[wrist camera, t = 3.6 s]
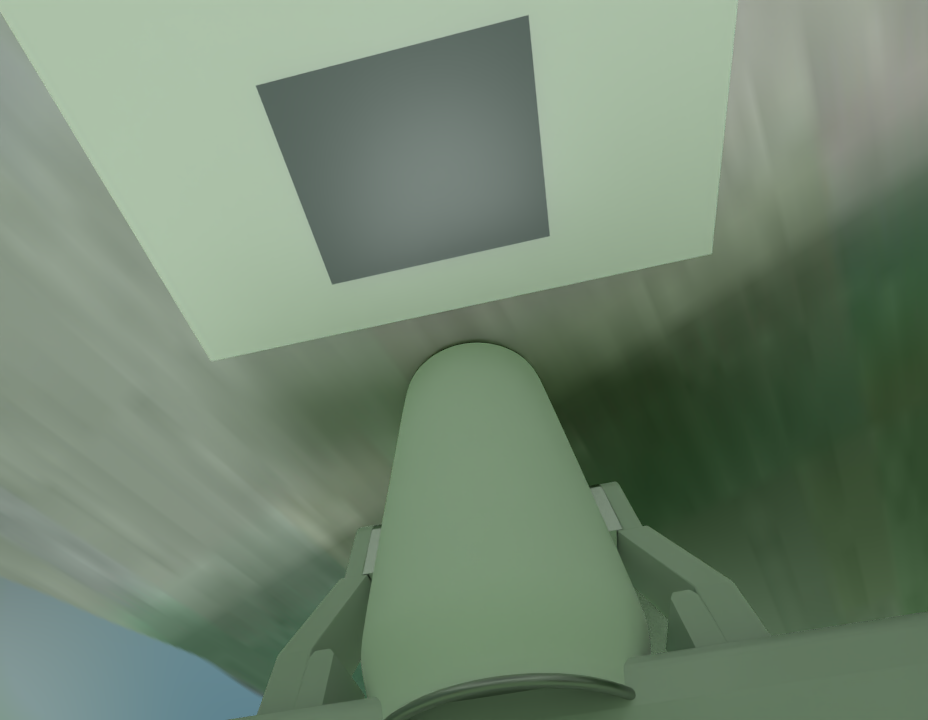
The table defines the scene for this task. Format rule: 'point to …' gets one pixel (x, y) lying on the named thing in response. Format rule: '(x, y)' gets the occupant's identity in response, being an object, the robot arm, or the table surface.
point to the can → (492, 549)
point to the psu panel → (389, 147)
